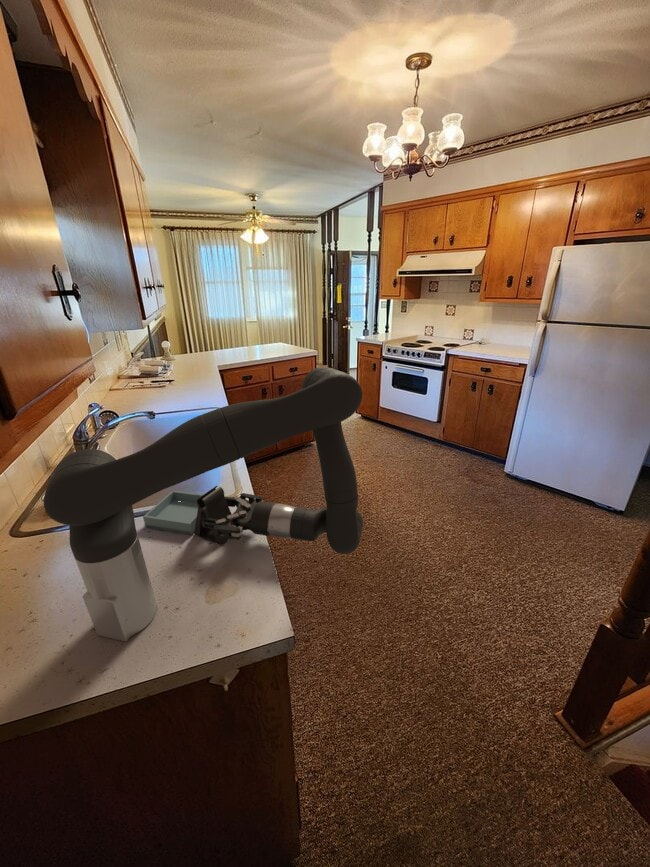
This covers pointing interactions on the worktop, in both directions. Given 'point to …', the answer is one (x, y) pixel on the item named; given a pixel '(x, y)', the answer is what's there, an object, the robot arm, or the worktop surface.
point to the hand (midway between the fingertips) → (212, 510)
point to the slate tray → (174, 513)
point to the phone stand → (212, 514)
